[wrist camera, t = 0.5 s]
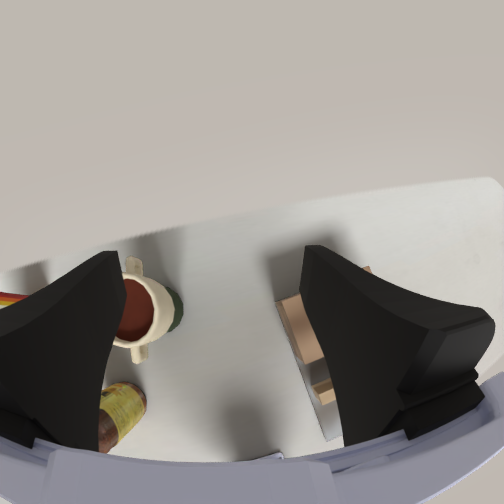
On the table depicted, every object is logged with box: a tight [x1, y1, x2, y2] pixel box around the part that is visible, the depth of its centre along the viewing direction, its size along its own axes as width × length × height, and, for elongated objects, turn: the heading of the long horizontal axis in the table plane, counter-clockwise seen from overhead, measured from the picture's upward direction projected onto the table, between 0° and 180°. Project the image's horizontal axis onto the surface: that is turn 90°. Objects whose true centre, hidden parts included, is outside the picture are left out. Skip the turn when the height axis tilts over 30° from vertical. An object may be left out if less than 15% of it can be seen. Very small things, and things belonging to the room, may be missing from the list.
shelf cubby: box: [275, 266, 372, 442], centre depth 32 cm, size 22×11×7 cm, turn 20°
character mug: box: [113, 256, 183, 364], centre depth 30 cm, size 11×7×13 cm, turn 5°
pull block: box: [311, 378, 336, 405], centre depth 33 cm, size 12×10×4 cm
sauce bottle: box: [98, 382, 147, 454], centre depth 24 cm, size 6×6×20 cm
